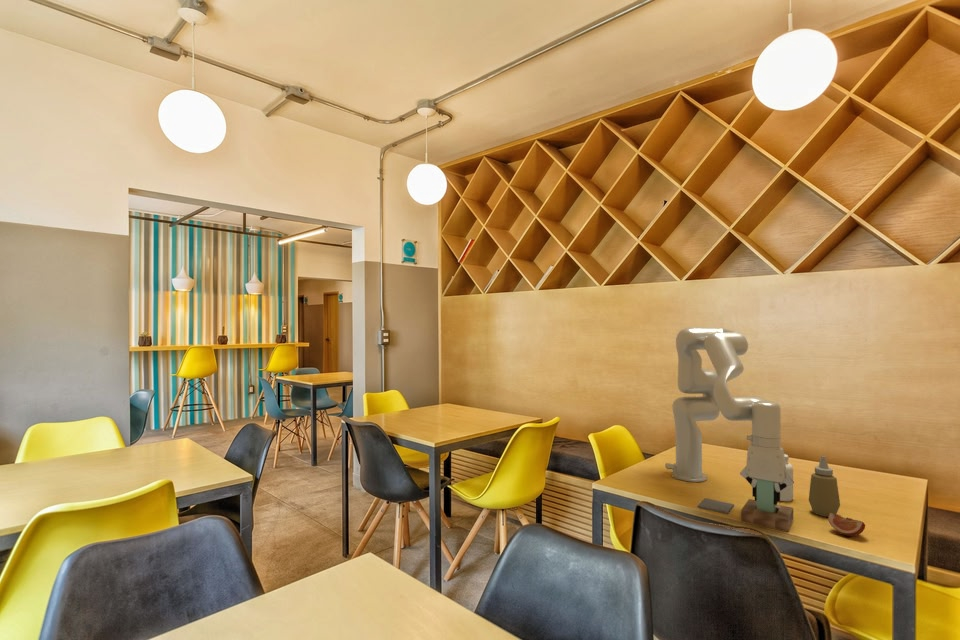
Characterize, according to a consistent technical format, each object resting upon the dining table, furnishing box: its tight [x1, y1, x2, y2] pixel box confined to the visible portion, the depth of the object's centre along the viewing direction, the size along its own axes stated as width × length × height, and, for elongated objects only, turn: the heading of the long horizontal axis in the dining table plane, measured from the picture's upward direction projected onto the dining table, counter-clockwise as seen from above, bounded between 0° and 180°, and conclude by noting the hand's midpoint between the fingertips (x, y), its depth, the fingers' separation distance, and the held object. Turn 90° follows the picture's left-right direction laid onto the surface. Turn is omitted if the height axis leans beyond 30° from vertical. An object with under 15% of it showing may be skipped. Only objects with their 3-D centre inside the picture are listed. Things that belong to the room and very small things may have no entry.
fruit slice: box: [827, 513, 866, 537], centre depth 135 cm, size 8×7×5 cm
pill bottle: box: [780, 453, 794, 502], centre depth 164 cm, size 8×8×15 cm
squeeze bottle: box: [808, 455, 841, 518], centre depth 149 cm, size 8×8×18 cm
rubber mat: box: [696, 497, 735, 515], centre depth 155 cm, size 9×9×1 cm
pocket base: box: [740, 498, 794, 533], centre depth 144 cm, size 12×12×4 cm
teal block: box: [757, 479, 776, 513], centre depth 145 cm, size 4×4×12 cm
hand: (766, 500), depth 145 cm, fingers closed on teal block, 4 cm apart
